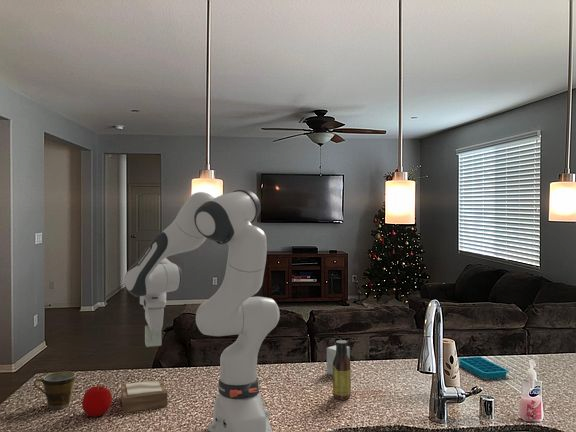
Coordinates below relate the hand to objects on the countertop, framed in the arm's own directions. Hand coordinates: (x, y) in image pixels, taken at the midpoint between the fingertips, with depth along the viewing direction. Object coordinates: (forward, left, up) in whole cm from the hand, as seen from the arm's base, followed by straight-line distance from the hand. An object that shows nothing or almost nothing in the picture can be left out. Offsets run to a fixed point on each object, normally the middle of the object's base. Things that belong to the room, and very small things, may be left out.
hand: (153, 338), depth 174 cm
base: (0, +3, -21) cm, 22 cm away
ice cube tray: (-16, -129, -22) cm, 132 cm away
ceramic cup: (+7, +31, -22) cm, 39 cm away
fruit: (-5, +18, -22) cm, 29 cm away
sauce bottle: (-21, -62, -22) cm, 69 cm away
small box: (+3, -73, -22) cm, 76 cm away
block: (0, 0, -2) cm, 2 cm away
